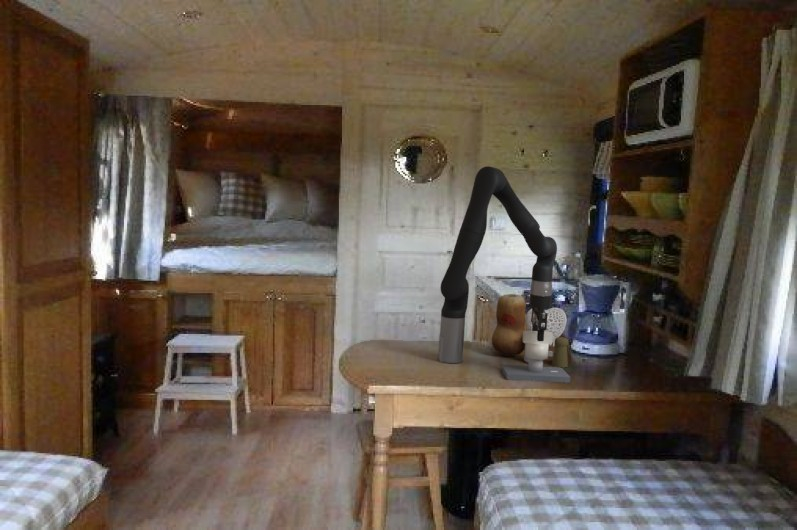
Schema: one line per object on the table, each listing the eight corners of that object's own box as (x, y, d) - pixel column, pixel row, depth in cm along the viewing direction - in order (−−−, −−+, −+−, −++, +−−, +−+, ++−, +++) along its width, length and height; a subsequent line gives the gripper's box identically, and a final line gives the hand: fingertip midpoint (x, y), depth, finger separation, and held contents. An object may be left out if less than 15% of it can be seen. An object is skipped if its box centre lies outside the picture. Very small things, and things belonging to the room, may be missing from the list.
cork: (568, 368, 232) (570, 340, 231) (551, 366, 233) (554, 338, 232) (567, 364, 238) (569, 336, 237) (551, 362, 239) (553, 335, 238)
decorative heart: (559, 343, 272) (562, 305, 270) (568, 349, 261) (572, 310, 260) (520, 343, 270) (522, 304, 268) (528, 349, 259) (531, 309, 257)
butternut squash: (487, 357, 243) (491, 295, 240) (494, 350, 255) (498, 290, 252) (522, 362, 238) (527, 298, 235) (528, 354, 250) (532, 294, 248)
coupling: (524, 358, 215) (526, 333, 214) (520, 353, 223) (521, 328, 222) (554, 360, 215) (556, 335, 214) (549, 354, 223) (551, 330, 222)
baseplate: (506, 379, 214) (508, 360, 213) (501, 369, 226) (502, 351, 225) (569, 382, 214) (571, 363, 213) (561, 372, 226) (562, 354, 225)
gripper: (526, 289, 224) (523, 333, 225) (534, 296, 209) (531, 342, 211) (546, 290, 223) (543, 334, 225) (556, 297, 209) (552, 343, 211)
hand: (537, 338), depth 218 cm, fingers open, 8 cm apart
